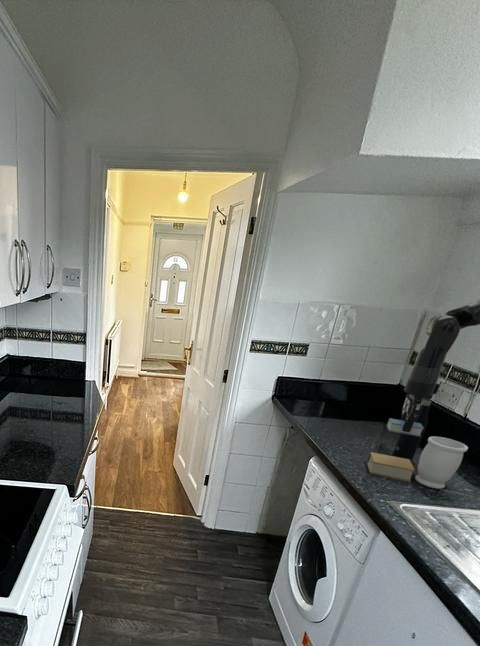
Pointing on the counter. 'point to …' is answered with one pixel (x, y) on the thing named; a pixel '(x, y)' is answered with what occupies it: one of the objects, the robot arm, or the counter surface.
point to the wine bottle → (410, 442)
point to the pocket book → (397, 427)
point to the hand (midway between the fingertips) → (404, 428)
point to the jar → (439, 461)
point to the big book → (390, 466)
